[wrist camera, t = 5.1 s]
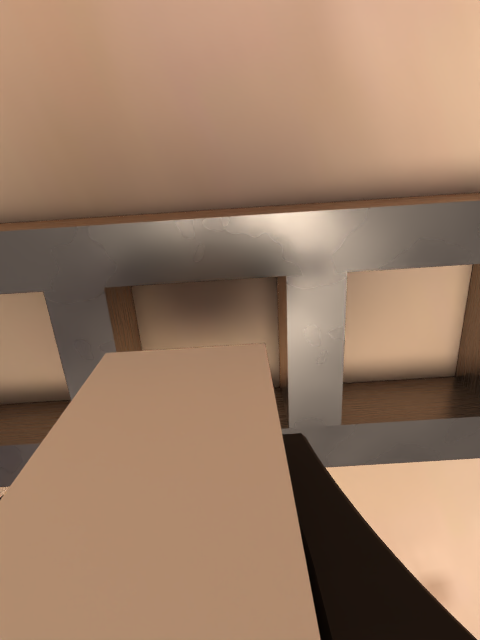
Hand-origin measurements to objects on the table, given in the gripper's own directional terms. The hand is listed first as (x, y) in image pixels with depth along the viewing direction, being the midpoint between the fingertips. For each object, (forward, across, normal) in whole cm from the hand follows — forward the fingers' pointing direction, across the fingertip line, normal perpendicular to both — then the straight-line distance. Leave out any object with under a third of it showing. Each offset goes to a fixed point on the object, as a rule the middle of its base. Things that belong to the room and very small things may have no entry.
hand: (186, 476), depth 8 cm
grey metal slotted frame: (+8, 0, 0) cm, 8 cm away
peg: (+2, 0, 0) cm, 2 cm away
